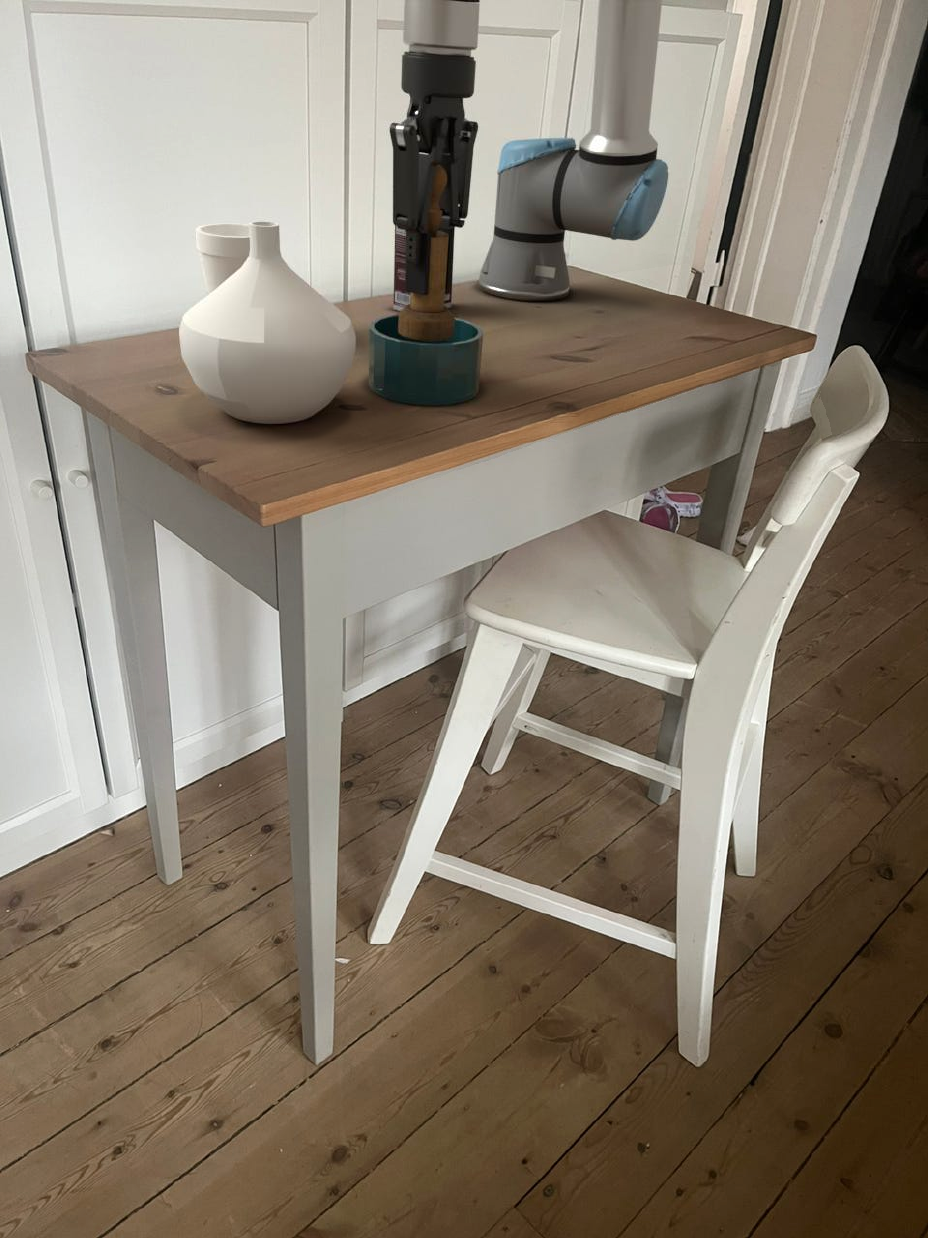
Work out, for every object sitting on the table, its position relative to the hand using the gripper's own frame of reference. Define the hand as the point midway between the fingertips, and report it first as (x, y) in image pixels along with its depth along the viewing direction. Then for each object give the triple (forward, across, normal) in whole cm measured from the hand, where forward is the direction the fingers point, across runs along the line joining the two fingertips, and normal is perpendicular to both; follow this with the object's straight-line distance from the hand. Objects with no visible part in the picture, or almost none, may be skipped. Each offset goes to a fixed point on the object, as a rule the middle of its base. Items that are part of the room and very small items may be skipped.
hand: (428, 288), depth 108 cm
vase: (+12, +18, -8) cm, 23 cm away
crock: (+11, 0, 0) cm, 11 cm away
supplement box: (+12, -30, -21) cm, 38 cm away
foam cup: (+12, -1, -31) cm, 33 cm away
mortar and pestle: (+5, 0, 0) cm, 5 cm away
